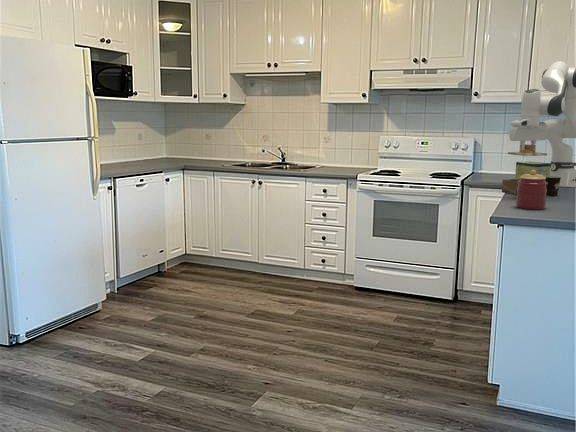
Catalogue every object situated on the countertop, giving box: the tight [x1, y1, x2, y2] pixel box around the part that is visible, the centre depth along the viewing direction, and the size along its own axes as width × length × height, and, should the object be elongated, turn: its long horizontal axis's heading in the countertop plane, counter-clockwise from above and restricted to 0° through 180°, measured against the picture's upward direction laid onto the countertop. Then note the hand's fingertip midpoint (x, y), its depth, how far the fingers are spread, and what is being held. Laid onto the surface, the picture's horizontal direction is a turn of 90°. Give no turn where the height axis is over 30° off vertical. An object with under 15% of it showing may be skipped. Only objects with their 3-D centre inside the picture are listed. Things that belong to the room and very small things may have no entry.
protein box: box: [514, 160, 551, 179], centre depth 313 cm, size 10×16×16 cm
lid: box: [507, 143, 548, 157], centre depth 281 cm, size 13×13×5 cm
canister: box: [515, 170, 548, 210], centre depth 257 cm, size 13×13×18 cm
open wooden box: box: [501, 178, 520, 196], centre depth 301 cm, size 12×12×7 cm
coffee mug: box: [544, 176, 561, 197], centre depth 293 cm, size 12×9×10 cm
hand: (527, 149), depth 281 cm, fingers closed on lid, 3 cm apart
